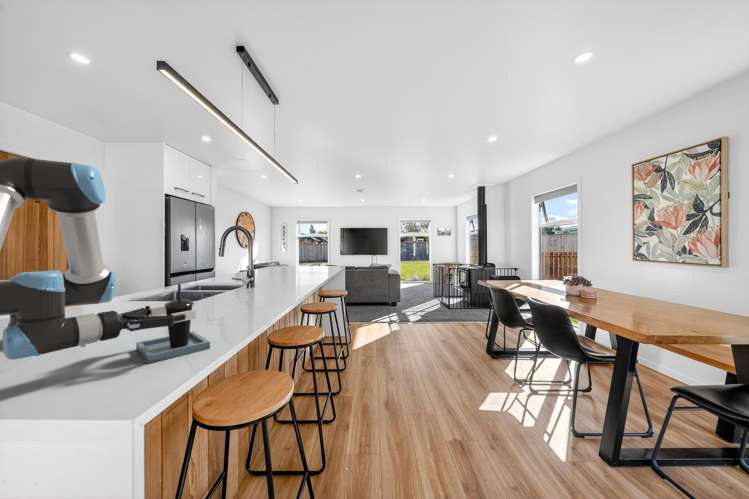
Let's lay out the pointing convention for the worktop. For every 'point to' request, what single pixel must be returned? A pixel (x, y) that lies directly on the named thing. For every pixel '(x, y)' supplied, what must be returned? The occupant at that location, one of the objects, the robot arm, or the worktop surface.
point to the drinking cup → (179, 329)
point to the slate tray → (170, 348)
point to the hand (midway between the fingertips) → (184, 311)
